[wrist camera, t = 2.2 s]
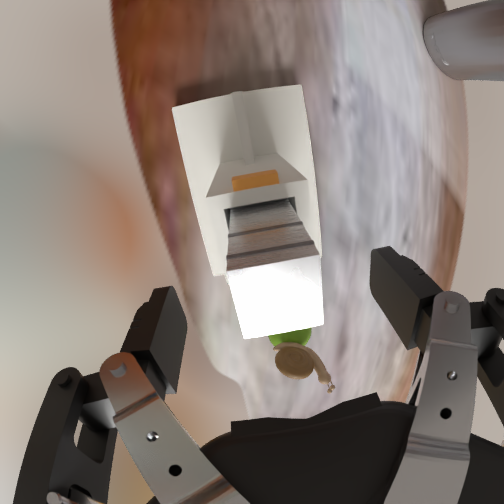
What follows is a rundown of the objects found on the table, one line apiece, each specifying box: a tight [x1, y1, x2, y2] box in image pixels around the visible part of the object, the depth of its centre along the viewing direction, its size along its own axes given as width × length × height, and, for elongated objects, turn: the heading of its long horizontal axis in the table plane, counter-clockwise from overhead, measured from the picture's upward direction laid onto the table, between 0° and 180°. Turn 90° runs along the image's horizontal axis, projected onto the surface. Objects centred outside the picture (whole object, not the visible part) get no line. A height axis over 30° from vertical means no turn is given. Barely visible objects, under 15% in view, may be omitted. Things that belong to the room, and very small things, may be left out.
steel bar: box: [226, 198, 323, 339], centre depth 18 cm, size 3×3×17 cm
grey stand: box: [172, 85, 322, 284], centre depth 22 cm, size 18×12×14 cm, turn 10°
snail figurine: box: [268, 327, 335, 393], centre depth 31 cm, size 5×6×12 cm
